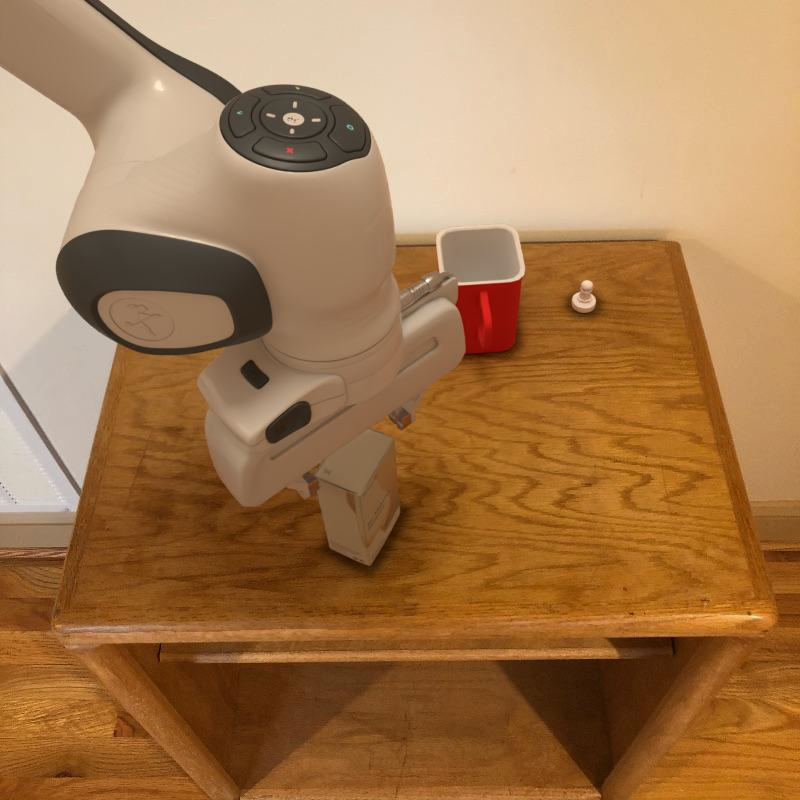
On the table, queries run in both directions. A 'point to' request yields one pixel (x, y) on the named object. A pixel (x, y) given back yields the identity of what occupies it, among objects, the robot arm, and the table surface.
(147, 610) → the table surface
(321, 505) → the cosmetic box
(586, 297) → the chess pawn
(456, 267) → the mug
